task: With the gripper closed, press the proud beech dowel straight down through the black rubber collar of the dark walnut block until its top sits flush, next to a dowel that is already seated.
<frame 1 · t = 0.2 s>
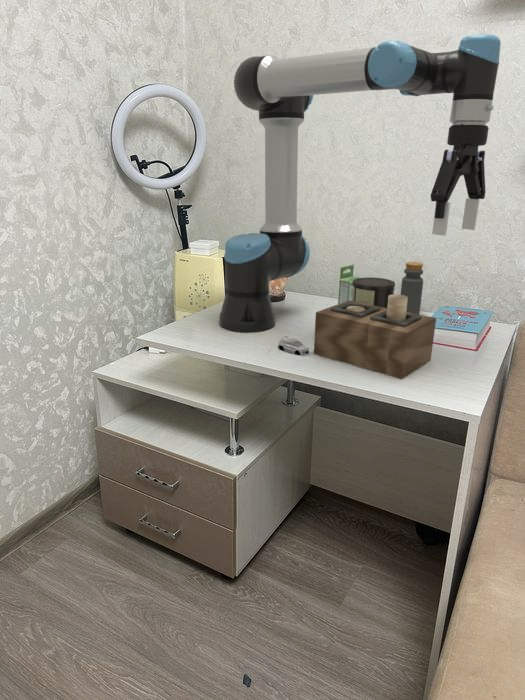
hand: (454, 232, 113), 28 cm above the table, fingers open, 13 cm apart
coffee can: (369, 336, 134), on the table
ink box: (349, 312, 155), on the table
toy car: (294, 352, 123), on the table
dowel: (396, 317, 113), point 10 cm above the table, slide at 0.0 cm
socket block: (371, 357, 119), on the table
bottle: (408, 315, 152), on the table
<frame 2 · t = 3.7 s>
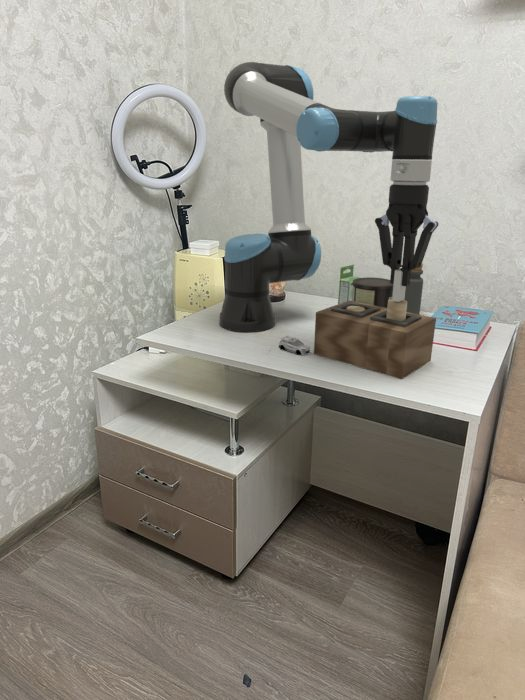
hand: (398, 300, 111), 14 cm above the table, fingers closed
dowel: (395, 321, 113), point 10 cm above the table, slide at 1.0 cm, touching gripper
everything else where it was.
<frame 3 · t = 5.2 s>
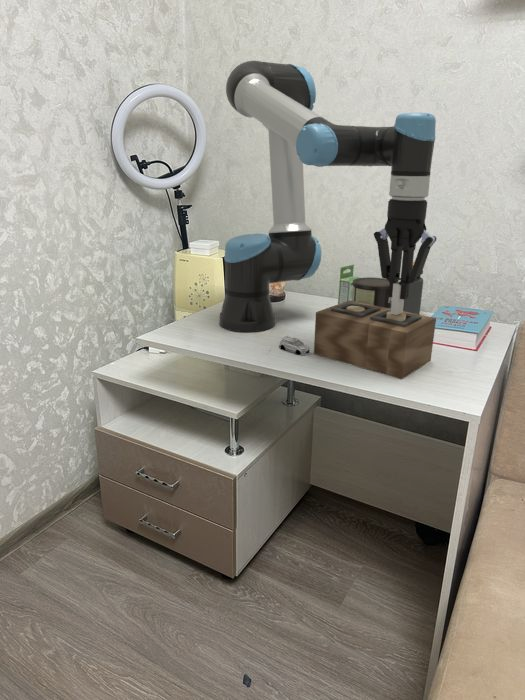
hand: (396, 312, 112), 11 cm above the table, fingers closed
dowel: (394, 333, 114), point 7 cm above the table, slide at 3.8 cm, touching gripper
everything else where it was.
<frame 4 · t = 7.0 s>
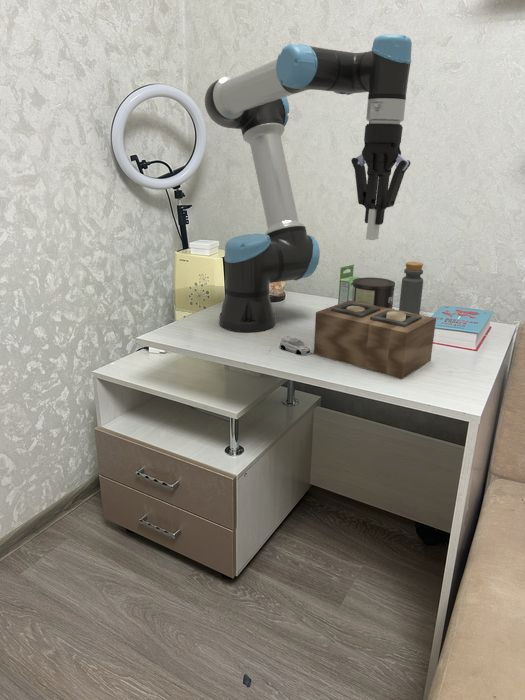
hand: (372, 239, 116), 26 cm above the table, fingers closed
dowel: (394, 333, 114), point 7 cm above the table, slide at 3.8 cm
everything else where it was.
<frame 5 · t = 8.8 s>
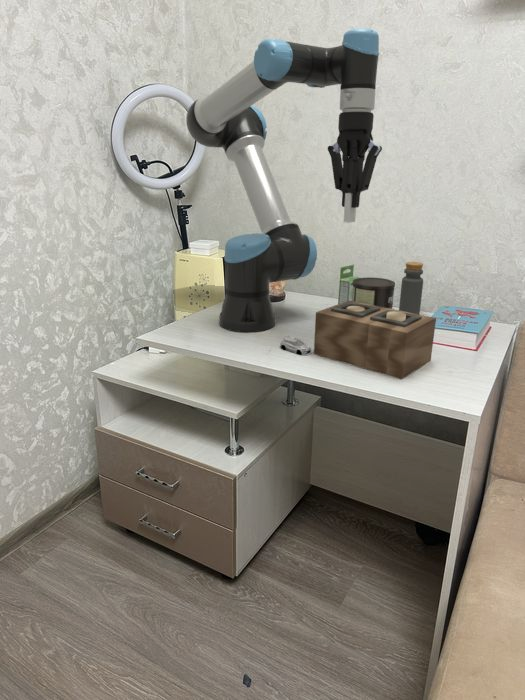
hand: (349, 221, 123), 28 cm above the table, fingers closed
nothing on the table moved.
at the end: dowel slide at 3.8 cm; dowel 0.0 cm from the target spot on the socket block, point 6.7 cm above the socket block's base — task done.
